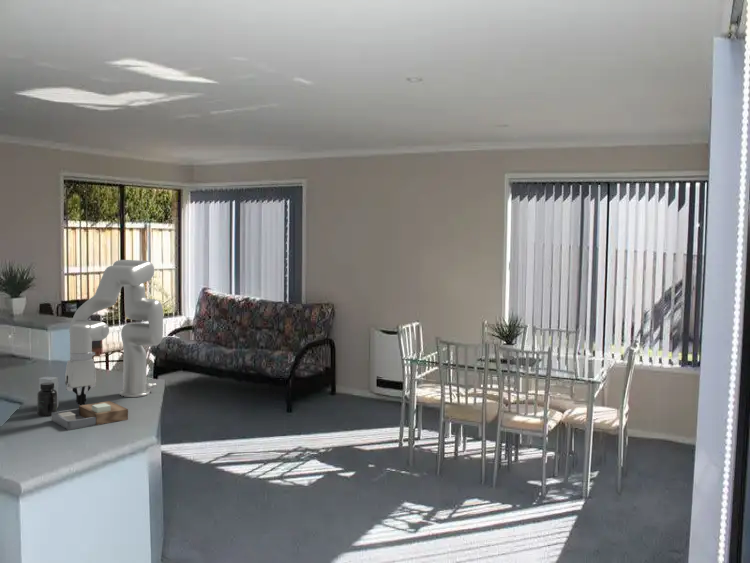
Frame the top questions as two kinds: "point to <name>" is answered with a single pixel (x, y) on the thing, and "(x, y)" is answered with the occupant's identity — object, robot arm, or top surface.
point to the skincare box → (50, 379)
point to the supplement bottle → (46, 399)
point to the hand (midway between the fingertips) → (81, 404)
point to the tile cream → (68, 415)
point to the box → (73, 424)
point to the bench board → (104, 413)
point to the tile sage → (101, 408)
